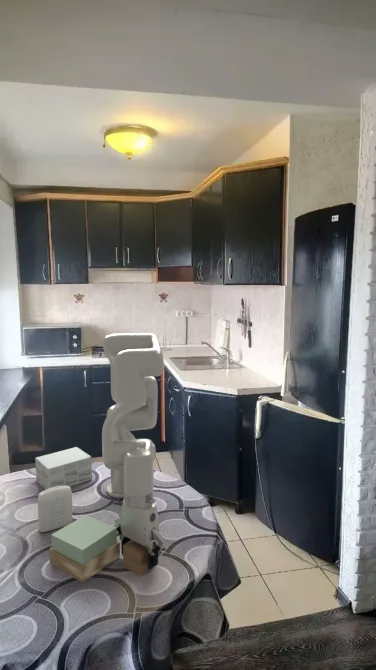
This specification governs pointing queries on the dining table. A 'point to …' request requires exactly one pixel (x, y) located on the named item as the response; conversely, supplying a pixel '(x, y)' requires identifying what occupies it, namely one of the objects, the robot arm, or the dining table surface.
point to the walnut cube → (135, 557)
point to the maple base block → (90, 567)
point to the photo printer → (54, 508)
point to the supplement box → (63, 468)
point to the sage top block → (84, 539)
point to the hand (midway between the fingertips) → (139, 559)
